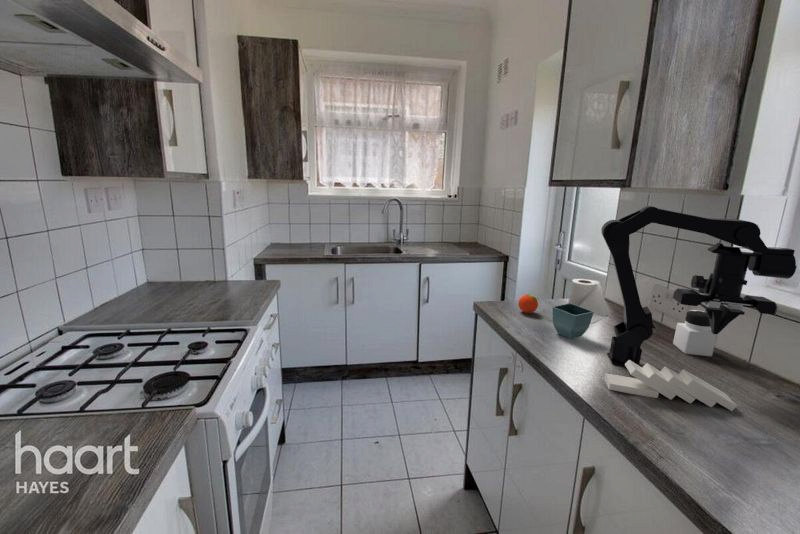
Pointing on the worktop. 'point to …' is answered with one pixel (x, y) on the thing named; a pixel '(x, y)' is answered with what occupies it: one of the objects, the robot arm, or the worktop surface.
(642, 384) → the domino
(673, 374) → the domino
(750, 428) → the worktop surface
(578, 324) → the flower pot
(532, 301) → the clementine
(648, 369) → the domino
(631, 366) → the domino
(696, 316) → the medicine bottle
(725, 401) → the domino
